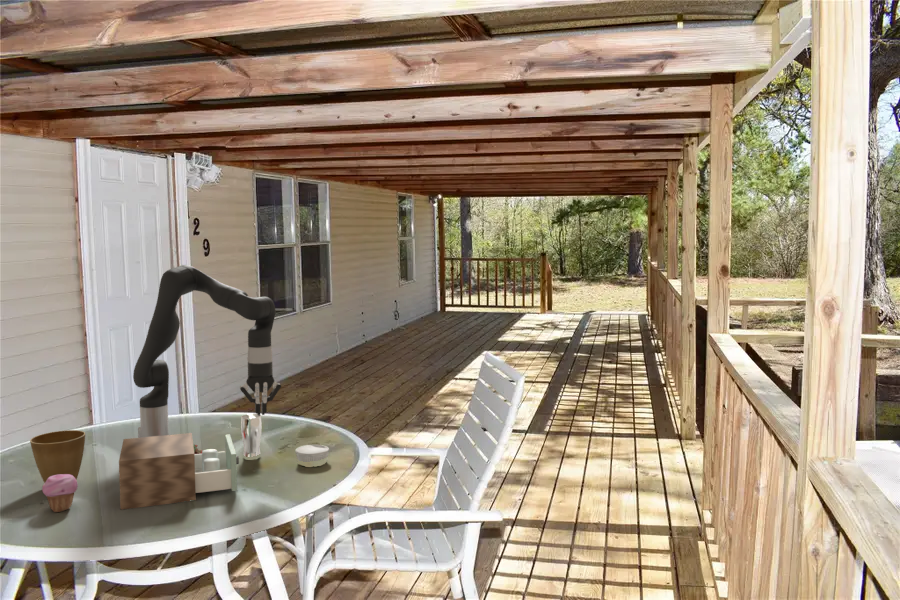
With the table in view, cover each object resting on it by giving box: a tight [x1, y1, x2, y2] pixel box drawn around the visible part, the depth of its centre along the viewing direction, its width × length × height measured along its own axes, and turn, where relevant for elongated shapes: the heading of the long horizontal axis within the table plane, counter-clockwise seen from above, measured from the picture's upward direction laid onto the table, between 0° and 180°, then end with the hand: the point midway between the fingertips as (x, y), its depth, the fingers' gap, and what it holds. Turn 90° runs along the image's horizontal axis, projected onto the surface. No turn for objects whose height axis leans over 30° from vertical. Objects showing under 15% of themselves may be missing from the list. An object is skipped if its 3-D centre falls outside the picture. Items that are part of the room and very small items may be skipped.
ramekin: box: [294, 444, 330, 462], centre depth 242 cm, size 11×11×5 cm
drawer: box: [194, 433, 240, 494], centre depth 219 cm, size 21×23×11 cm
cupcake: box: [41, 474, 79, 513], centre depth 200 cm, size 9×9×10 cm
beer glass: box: [240, 413, 263, 457], centre depth 248 cm, size 7×7×15 cm
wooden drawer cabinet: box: [118, 432, 197, 511], centre depth 215 cm, size 20×24×14 cm
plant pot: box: [29, 429, 86, 484], centre depth 218 cm, size 15×15×16 cm
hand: (261, 414), depth 225 cm, fingers closed
